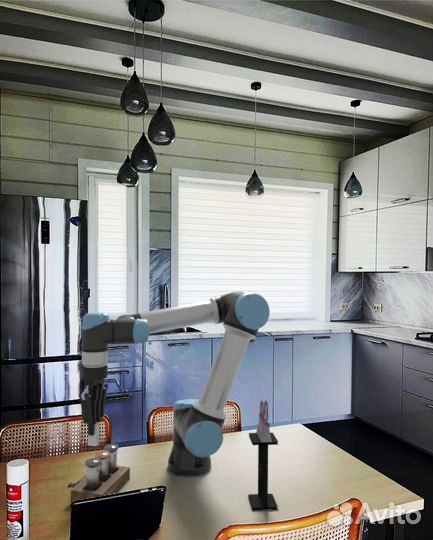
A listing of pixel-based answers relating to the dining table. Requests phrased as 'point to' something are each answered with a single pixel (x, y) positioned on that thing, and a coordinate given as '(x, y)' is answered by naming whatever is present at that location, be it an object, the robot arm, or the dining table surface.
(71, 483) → the tactical tomahawk
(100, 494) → the block
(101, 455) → the plunger mid
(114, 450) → the plunger right
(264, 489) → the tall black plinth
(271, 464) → the dining table surface
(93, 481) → the plunger left
